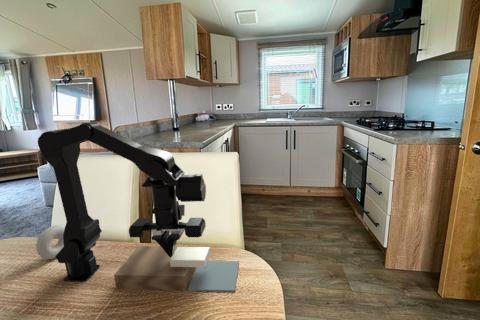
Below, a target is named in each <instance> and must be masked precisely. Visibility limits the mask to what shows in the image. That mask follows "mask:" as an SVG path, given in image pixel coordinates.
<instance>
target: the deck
mask: <svg viewBox="0 0 480 320" xmlns="http://www.w3.org/2000/svg"><path fill="white" fill-rule="evenodd" d="M177 247H187V246H184V245H183V246H177V245H176V246H175V250H176V249H177ZM175 250H174V252H175ZM170 259H171V257H169V256H168V255H167V253H166V252H165V251H164V249H163V248H162V247H161V246H160V245H159V246H158V245H138V246H137V247H136V248H135V249H134V251H133V252H132V253H131V254H130V255H129V256H128V258H127V259H126V260H125V261H124V262H123V264H122V265H121V266H120V267H119V269H117V270H116V272H115V273H114V274H113V278H114V283H115V284H114V285H115V289H116V290H146V291H147V290H148V291H150V290H151V291H152V290H153V291H187V290H188V288H189V286H190V283H191V280H192V278H193V275H194V273H195V270H196V267H171V265H170Z"/></svg>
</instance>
